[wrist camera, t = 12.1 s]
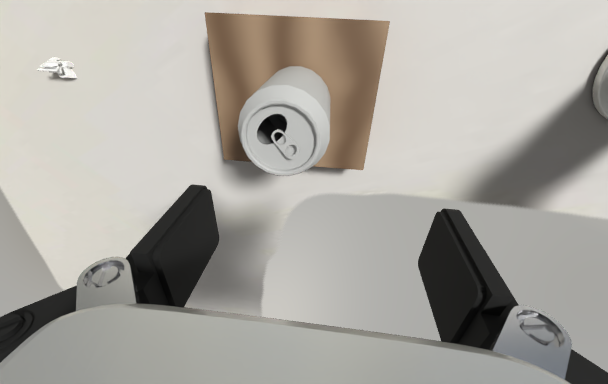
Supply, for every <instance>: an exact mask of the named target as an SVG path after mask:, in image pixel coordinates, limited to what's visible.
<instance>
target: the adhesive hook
mask: <svg viewBox="0 0 608 384" xmlns="http://www.w3.org/2000/svg"><path fill="white" fill-rule="evenodd" d="M57 60H60V58H55V57H53V58H51V59H49V60H48V61H47V62H44V63H42V64H41V65H40V66H39V67H45V68H44V69H42V68H38V69H37V70H38V71H49V72H53V73H57V74H58V75H59V76H60V77H69V78H77V77H76V75H75V73H74V72H73V70H72V68H74V65H73V62H68V61H57ZM59 63H61V64H62V65H61V64H59ZM71 67H72V68H71ZM65 74H66V75H65Z"/></svg>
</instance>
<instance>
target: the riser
mask: <svg viewBox="0 0 608 384" xmlns="http://www.w3.org/2000/svg"><path fill="white" fill-rule="evenodd" d="M205 18H206V26H207V34H208V41H209V49H210V56H211V64H212V71H213V79H214V86H215V94H216V102H217V109H218V117H219V124H220V132H221V139H222V147H223V155H224V160H236V161H250V162H252V161H251V160H250V159H249V158H248V156H247V154H246V152H245V150H244V148H243V146H242V143H241V141H240V137H239V131H238V122H239V116H240V112H241V110H242V108H243V106H244V105H245V103H246V101H247V100H248V99H249V98H250V97H251V96H252V95H253V94H254V93H255V92H256V91H257V90H258V89H259V88H260V87H261V86H262V85H263V84H264V83H265V82H266V81H267V80H269V79H270V78H271V77H272V76H273V75H274V74H275V73H276V72H278V71H279V70H281V69H284V68H286V67H289V66H301V67H304V68H307V69H310V70H312V71H314V72H315V73H316V74H318V75H319V76H320V77H321V78H322V80H323V81H324V82H325V84H326V85H327V87H328V91H329V94H330V141H329V144H328V146H327V149H326V152H325V154H324V155H323V156H322V158H321V159H320V160H319V161H318V163H317V164H315V165H314V166H316V167H329V168H342V169H355V170H363V168H364V163H365V157H366V152H367V146H368V140H369V135H370V129H371V124H372V118H373V112H374V107H375V101H376V96H377V90H378V84H379V79H380V73H381V68H382V62H383V57H384V51H385V45H386V40H387V34H388V29H389V23H390V21H374V20H353V19H332V18H311V17H290V16H269V15H248V14H227V13H206V12H205Z"/></svg>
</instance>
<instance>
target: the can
mask: <svg viewBox="0 0 608 384" xmlns="http://www.w3.org/2000/svg"><path fill="white" fill-rule="evenodd" d="M238 131H239V137H240V141H241V143H242V146H243V148H244V150H245V152H246V154H247V156H248V158H249V159H250V160H251V161H252V162H253V163H254V164H255V165H256V166H257V167H259V168H260V169H262V170H263V171H265V172H267V173H270V174H274V175H277V176H291V175H295V174H298V173H301V172H303V171H306V170H308V169H309V168H311V167H312V166H314V165H315V164H317V163H318V161H319V160H320V159H321V158H322V156H323V155H324V154H325V152H326V149H327V146H328V144H329V141H330V94H329V91H328V87H327V85H326V84H325V82H324V81H323V80H322V78H321V77H320V76H319V75H318V74H316V73H315V72H314V71H312V70H310V69H307V68H304V67H301V66H289V67H286V68H284V69H281V70H279V71H278V72H276V73H275V74H274V75H273V76H272V77H271V78H270V79H269V80H267V81H266V82H265V83H264V84H263V85H262V86H261V87H260V88H259V89H258V90H257V91H256V92H255V93H254V94H253V95H252V96H251V97H250V98H249V99H248V100H247V101H246V103H245V105H244V106H243V108H242V110H241V112H240V116H239V122H238Z"/></svg>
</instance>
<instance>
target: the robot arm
mask: <svg viewBox="0 0 608 384" xmlns="http://www.w3.org/2000/svg"><path fill="white" fill-rule="evenodd" d="M593 101H594V105H595V107H596V109H597V110H598V112H599V113H600V114H601V115H602V116H604V117H605V118H607V119H608V55H607V56H606V58H605V60H604V61H603V63H602V64H601V66H600V68H599V70H598V73H597V75H596V77H595V81H594V85H593ZM218 242H219V234H218V228H217V222H216V217H215V211H214V206H213V200H212V194H211V191H210V190H208V189H207V187H206V186H202V185H190V186H189V187H188V188H187V190H186V191H185V192H184V193H183V194H182V195H181V196H180V197H179V198H178V200H177V201H176V202H175V203H174V204H173V205H172V206H171V207H170V208H169V210H168V211H167V212H166V213H165V214H164V215H163V216H162V217H161V218H160V219H159V221H158V222H157V223H156V224H155V225H154V226H153V227H152V228H151V229H150V231H149V232H148V233H147V234H146V235H145V236H144V237H143V238H142V239H141V241H140V242H139V243H138V244H137V245H136V246H135V247H134V248H133V249H132V251H131V252H130V254H129V255H128V256H127V257H126V259H125V258H122V257H110V258H106V259H102V260H100V261H98V262H95V263H94V264H92V265H90V266H89V267H88V268H86V269H85V270H84V271H83V272H82V273H81V275H80V276H79V278H78V281H77V286H75V287H72V288H70V289H67V290H65V291H62V292H60V293H57V294H55V295H52V296H50V297H47V298H45V299H42V300H40V301H38V302H35V303H33V304H30V305H28V306H25V307H23V308H20V309H18V310H15V311H13V312H10V313H8V314H6V315H4V316H2V317H0V384H608V373H607V372H606V371H604V370H603V369H601V368H600V367H598V366H597V365H595V364H594V363H592V362H590V361H589V360H587V359H586V358H584V357H583V356H581V355H580V354H578V353H577V352H575V351H574V350H572V349H571V347H572V344H571V339H570V337H569V334H568V332H567V331H566V330H565V329H564V327H563V326H562V325H561V324H560V323H559V322H557V321H556V320H555V319H554V318H553V317H551V316H550V315H548V314H547V313H545V312H543V311H541V310H539V309H537V308H534V307H530V306H526V305H525V306H524V305H518V303H517V302H516V300H515V299H514V297H513V295H512V294H511V292H510V290H509V289H508V287H507V286H506V284H505V282H504V281H503V279H502V277H501V276H500V274H499V273H498V271H497V269H496V268H495V266H494V265H493V263H492V261H491V260H490V258H489V256H488V255H487V253H486V252H485V250H484V249H483V247H482V245H481V244H480V242H479V241H478V239H477V238H476V236H475V234H474V232H473V231H472V229H471V228H470V226H469V224H468V223H467V221H466V219H465V218H464V216H463V215H462V213H461V212H460V211H459V210H453V209H442V210H441V212H437V213H436V215H435V217H434V220H433V223H432V225H431V228H430V231H429V233H428V236H427V238H426V241H425V244H424V246H423V249H422V252H421V254H420V257H419V260H418V267H419V270H420V274H421V277H422V280H423V283H424V286H425V290H426V292H427V296H428V299H429V303H430V306H431V309H432V312H433V316H434V319H435V322H436V325H437V328H438V332H439V334H440V338H441V341H442V342H441V341H434V340H428V339H421V338H415V337H407V336H400V335H392V334H385V333H378V332H370V331H363V330H356V329H349V328H341V327H334V326H326V325H319V324H311V323H304V322H296V321H288V320H281V319H272V318H265V317H257V316H249V315H242V314H234V313H226V312H218V311H210V310H202V309H193V308H184V306H185V304H186V302H187V300H188V299H189V297H190V295H191V293H192V291H193V289H194V287H195V286H196V284H197V282H198V280H199V278H200V276H201V275H202V273H203V271H204V269H205V267H206V265H207V264H208V262H209V260H210V258H211V256H212V254H213V253H214V251H215V249H216V247H217V245H218Z"/></svg>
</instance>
